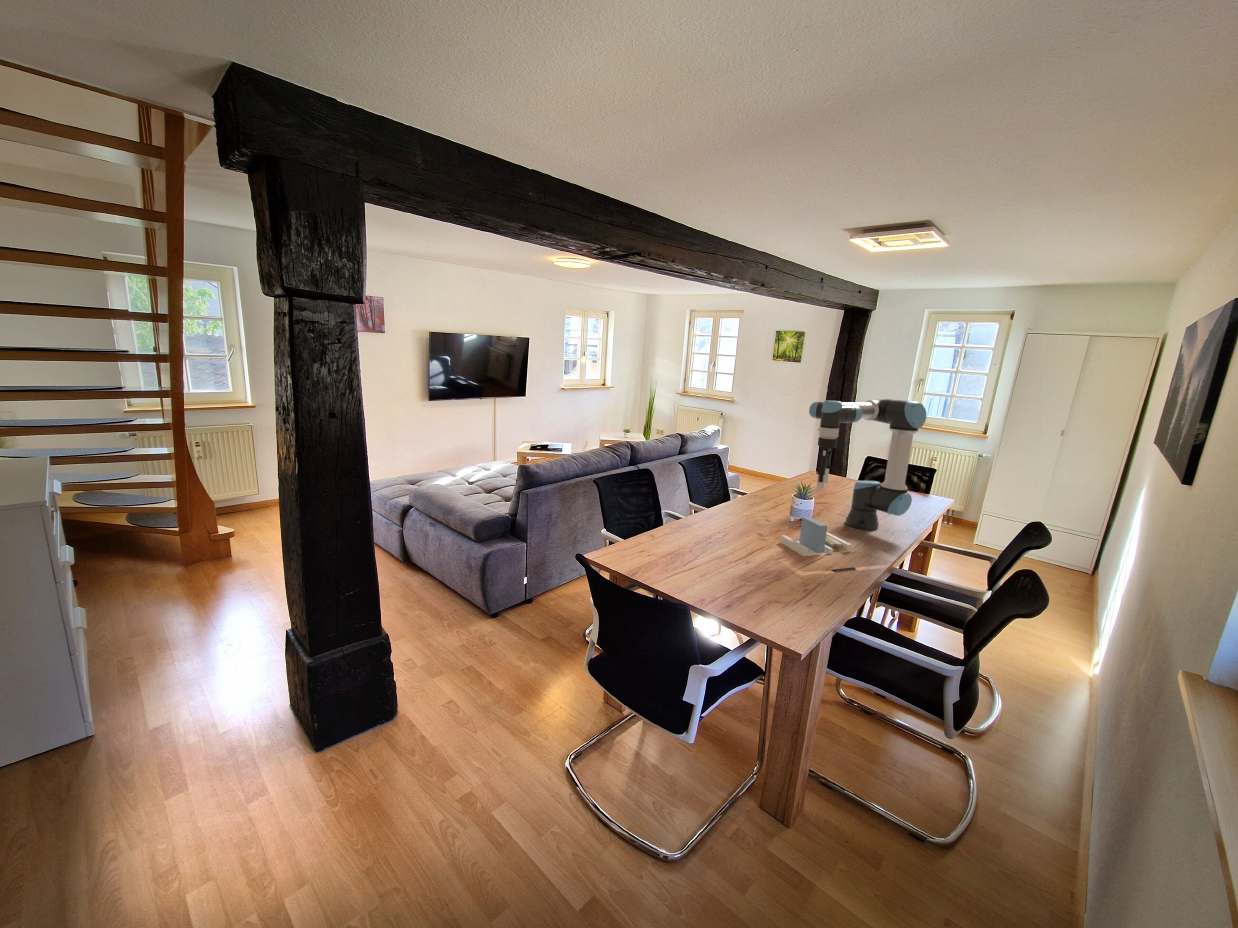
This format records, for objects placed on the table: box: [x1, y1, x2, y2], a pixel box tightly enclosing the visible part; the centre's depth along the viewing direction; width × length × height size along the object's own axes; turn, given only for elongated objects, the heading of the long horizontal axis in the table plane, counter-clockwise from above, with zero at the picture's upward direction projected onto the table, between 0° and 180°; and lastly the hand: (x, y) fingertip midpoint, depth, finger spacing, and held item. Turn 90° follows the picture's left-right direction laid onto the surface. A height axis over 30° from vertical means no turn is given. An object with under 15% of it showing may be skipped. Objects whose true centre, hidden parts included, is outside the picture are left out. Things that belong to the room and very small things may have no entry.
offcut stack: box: [825, 536, 845, 552], centre depth 216 cm, size 6×14×3 cm, turn 16°
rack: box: [780, 532, 853, 557], centre depth 214 cm, size 24×16×4 cm, turn 106°
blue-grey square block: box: [798, 516, 828, 553], centre depth 212 cm, size 4×12×12 cm, turn 16°
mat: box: [831, 567, 857, 574], centre depth 199 cm, size 10×14×1 cm
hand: (822, 486), depth 211 cm, fingers open, 13 cm apart
